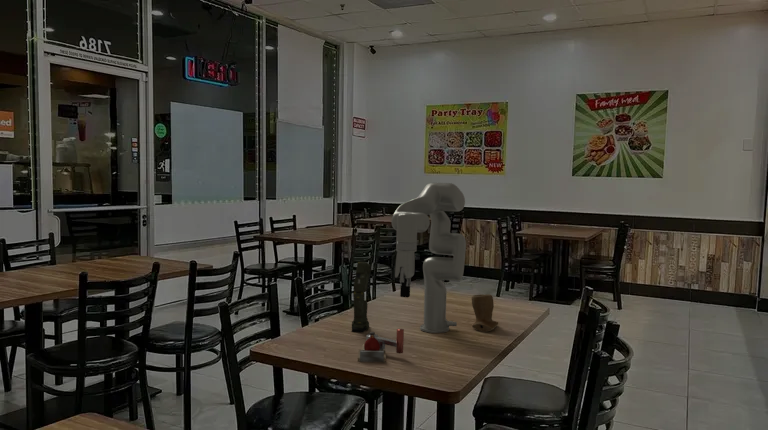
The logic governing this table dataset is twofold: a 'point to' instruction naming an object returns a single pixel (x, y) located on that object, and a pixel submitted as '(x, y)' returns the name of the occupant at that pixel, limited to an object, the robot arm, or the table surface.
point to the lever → (391, 341)
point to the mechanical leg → (360, 298)
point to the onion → (372, 344)
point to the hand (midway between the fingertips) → (405, 296)
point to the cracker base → (371, 354)
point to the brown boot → (483, 312)
